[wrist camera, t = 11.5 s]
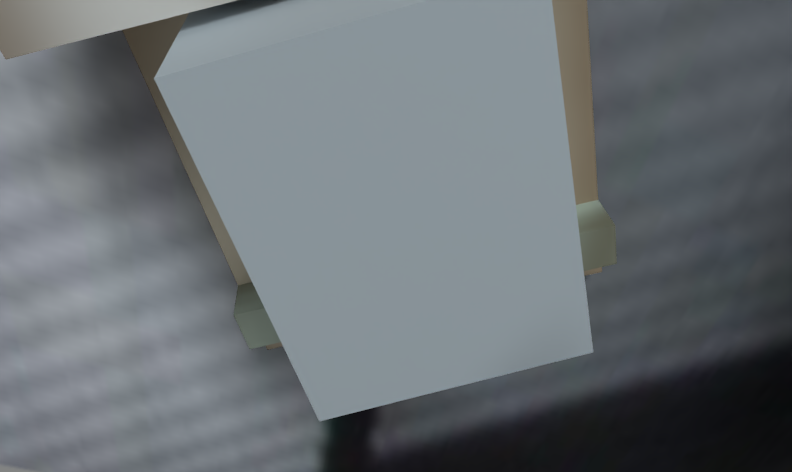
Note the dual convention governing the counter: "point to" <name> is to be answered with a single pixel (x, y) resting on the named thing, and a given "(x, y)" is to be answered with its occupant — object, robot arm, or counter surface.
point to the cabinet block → (390, 185)
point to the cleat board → (150, 42)
